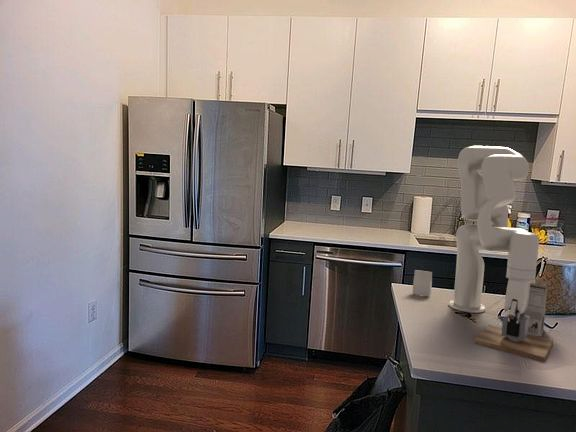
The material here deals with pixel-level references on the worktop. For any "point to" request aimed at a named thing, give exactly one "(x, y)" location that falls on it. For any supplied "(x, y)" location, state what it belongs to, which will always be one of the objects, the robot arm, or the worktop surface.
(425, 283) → the grey rectangular block
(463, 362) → the worktop surface
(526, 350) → the dock
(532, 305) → the coffee box
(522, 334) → the grey cube
